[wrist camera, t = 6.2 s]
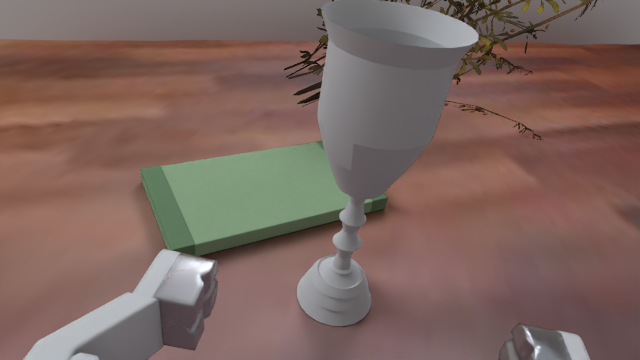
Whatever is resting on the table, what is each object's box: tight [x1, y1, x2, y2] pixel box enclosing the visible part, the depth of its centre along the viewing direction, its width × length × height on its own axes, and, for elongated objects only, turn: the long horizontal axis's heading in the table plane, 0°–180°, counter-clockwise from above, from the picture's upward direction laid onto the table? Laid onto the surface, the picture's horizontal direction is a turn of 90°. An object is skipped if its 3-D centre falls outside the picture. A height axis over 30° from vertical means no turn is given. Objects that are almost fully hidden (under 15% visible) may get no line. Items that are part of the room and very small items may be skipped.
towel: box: [140, 141, 388, 256], centre depth 37 cm, size 18×10×1 cm, turn 119°
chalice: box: [297, 0, 479, 326], centre depth 24 cm, size 7×7×18 cm
